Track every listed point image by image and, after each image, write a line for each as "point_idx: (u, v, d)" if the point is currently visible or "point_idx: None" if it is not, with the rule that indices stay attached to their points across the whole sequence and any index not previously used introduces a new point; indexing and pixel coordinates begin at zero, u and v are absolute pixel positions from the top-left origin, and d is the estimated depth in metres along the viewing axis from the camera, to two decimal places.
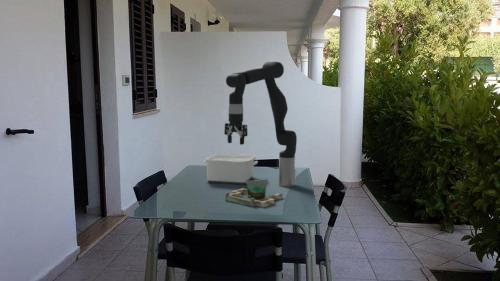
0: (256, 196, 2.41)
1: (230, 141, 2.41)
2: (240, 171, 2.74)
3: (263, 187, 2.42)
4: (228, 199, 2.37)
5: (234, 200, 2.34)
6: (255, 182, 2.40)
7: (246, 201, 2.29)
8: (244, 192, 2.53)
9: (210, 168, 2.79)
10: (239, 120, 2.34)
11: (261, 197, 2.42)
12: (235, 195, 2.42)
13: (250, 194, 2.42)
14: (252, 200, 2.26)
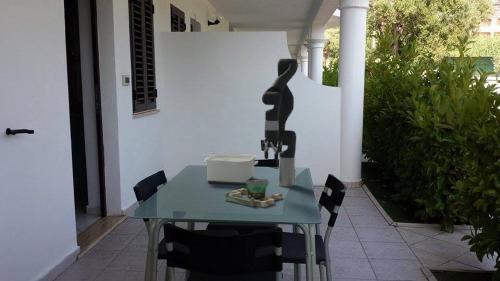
0: (256, 196, 2.41)
1: (267, 157, 2.51)
2: (240, 171, 2.74)
3: (263, 187, 2.42)
4: (228, 199, 2.37)
5: (234, 200, 2.34)
6: (255, 182, 2.40)
7: (246, 201, 2.29)
8: (244, 192, 2.53)
9: (210, 168, 2.79)
10: (275, 136, 2.45)
11: (261, 197, 2.42)
12: (235, 195, 2.42)
13: (250, 194, 2.42)
14: (252, 200, 2.26)
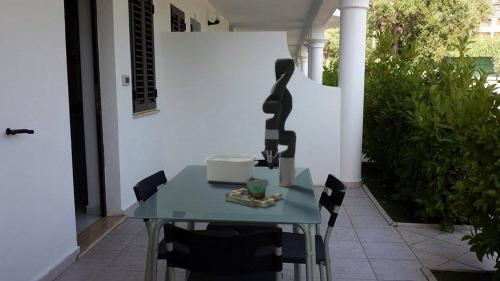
0: (256, 196, 2.41)
1: None
2: (240, 171, 2.74)
3: (263, 187, 2.42)
4: (228, 199, 2.37)
5: (234, 200, 2.34)
6: (255, 182, 2.40)
7: (246, 201, 2.29)
8: (244, 192, 2.53)
9: (210, 168, 2.79)
10: (275, 145, 2.45)
11: (261, 197, 2.42)
12: (235, 195, 2.42)
13: (250, 194, 2.42)
14: (252, 200, 2.26)
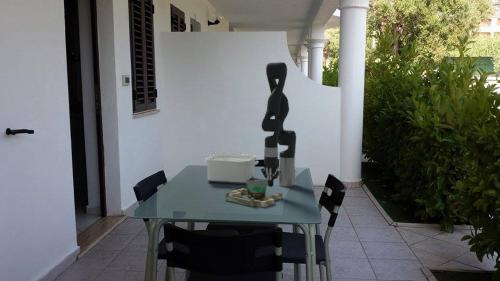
0: (256, 196, 2.41)
1: None
2: (240, 171, 2.75)
3: (263, 187, 2.42)
4: (228, 199, 2.37)
5: (234, 200, 2.34)
6: (255, 182, 2.40)
7: (246, 201, 2.29)
8: (244, 192, 2.53)
9: (210, 168, 2.79)
10: (275, 163, 2.46)
11: (261, 197, 2.42)
12: (235, 195, 2.42)
13: (250, 194, 2.42)
14: (252, 200, 2.26)
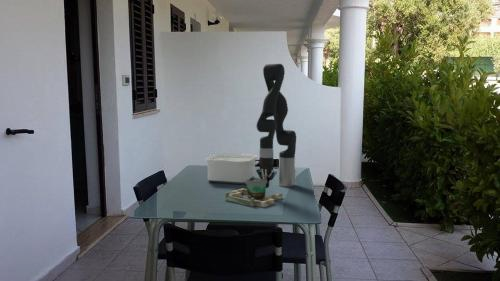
0: (256, 196, 2.41)
1: (266, 186, 2.48)
2: (240, 171, 2.75)
3: (263, 187, 2.42)
4: (228, 199, 2.37)
5: (234, 200, 2.34)
6: (255, 182, 2.39)
7: (246, 201, 2.29)
8: (244, 192, 2.53)
9: (211, 168, 2.79)
10: (270, 164, 2.43)
11: (261, 197, 2.42)
12: (235, 195, 2.42)
13: (250, 194, 2.42)
14: (252, 200, 2.26)
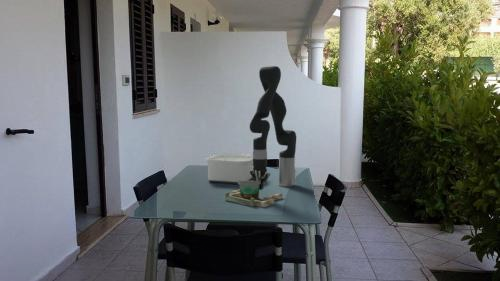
0: (247, 197, 2.38)
1: None
2: (240, 171, 2.75)
3: (255, 188, 2.38)
4: (228, 199, 2.37)
5: (234, 200, 2.34)
6: (245, 183, 2.37)
7: (246, 201, 2.29)
8: None
9: (211, 168, 2.80)
10: (264, 165, 2.39)
11: None
12: (235, 195, 2.42)
13: (242, 195, 2.40)
14: (252, 200, 2.26)
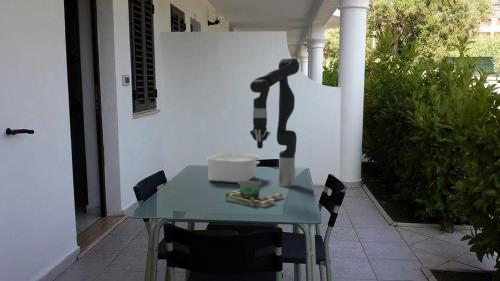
0: (247, 197, 2.39)
1: None
2: (240, 171, 2.75)
3: (255, 189, 2.39)
4: (228, 199, 2.37)
5: (234, 200, 2.34)
6: (246, 183, 2.37)
7: (246, 201, 2.29)
8: None
9: (211, 167, 2.80)
10: (264, 124, 2.46)
11: None
12: (235, 195, 2.42)
13: (242, 195, 2.40)
14: (252, 200, 2.26)
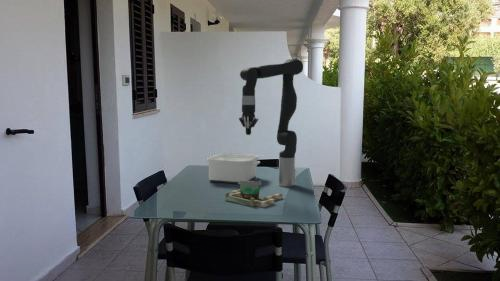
0: (247, 197, 2.39)
1: None
2: (241, 171, 2.75)
3: (255, 189, 2.39)
4: (228, 199, 2.37)
5: (234, 200, 2.34)
6: (246, 183, 2.37)
7: (246, 201, 2.29)
8: None
9: (212, 167, 2.81)
10: (252, 111, 2.53)
11: None
12: (235, 195, 2.42)
13: (242, 195, 2.40)
14: (252, 200, 2.26)
